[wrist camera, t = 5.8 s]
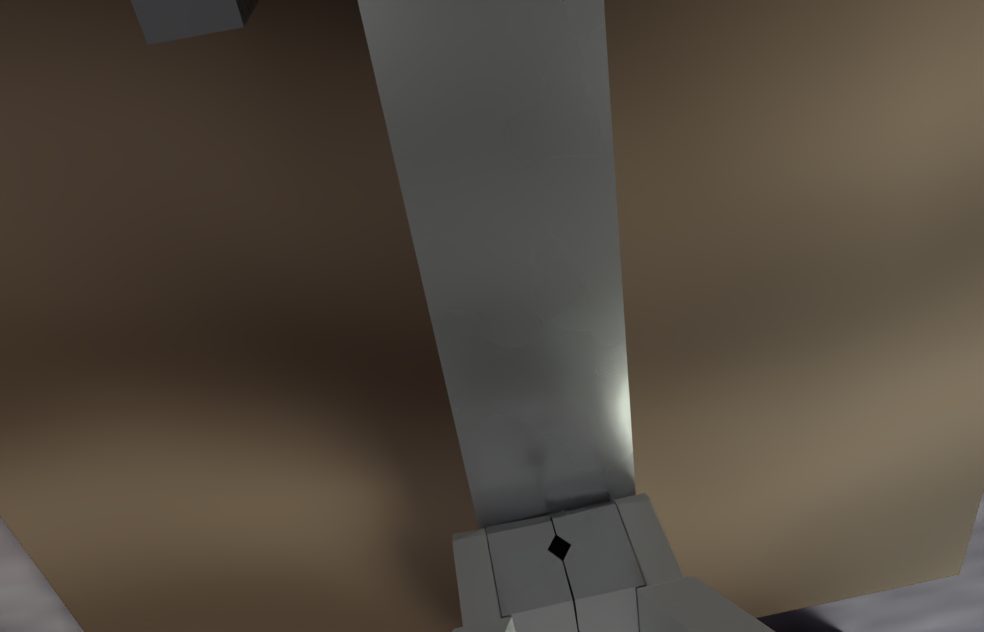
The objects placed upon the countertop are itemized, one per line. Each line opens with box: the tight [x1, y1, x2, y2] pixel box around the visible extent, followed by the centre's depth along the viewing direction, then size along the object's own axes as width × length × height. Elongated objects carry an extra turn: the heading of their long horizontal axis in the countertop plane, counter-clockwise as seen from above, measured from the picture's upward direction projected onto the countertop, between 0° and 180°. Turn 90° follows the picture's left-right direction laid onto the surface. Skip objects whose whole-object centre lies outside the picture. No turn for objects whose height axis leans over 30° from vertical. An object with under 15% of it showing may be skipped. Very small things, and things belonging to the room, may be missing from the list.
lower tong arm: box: [131, 0, 259, 45], centre depth 11 cm, size 16×6×3 cm, turn 8°
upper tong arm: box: [358, 0, 636, 533], centre depth 11 cm, size 16×4×2 cm, turn 8°
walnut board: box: [0, 0, 984, 632], centre depth 13 cm, size 18×18×1 cm
